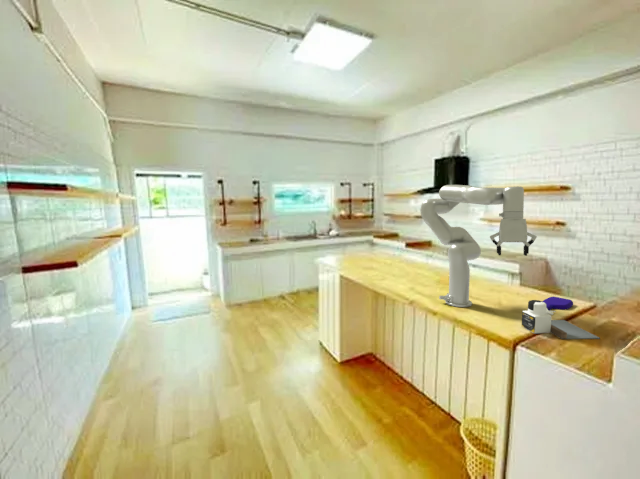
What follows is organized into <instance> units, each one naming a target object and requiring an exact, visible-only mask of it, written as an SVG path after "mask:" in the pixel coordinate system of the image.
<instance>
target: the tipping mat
mask: <svg viewBox="0 0 640 479" xmlns="http://www.w3.org/2000/svg"><path fill="white" fill-rule="evenodd" d="M550 334H552V335H554V336H556V337H557V338H558V339H561V340H600V339H601V338H600V337H599V336H597V335H596V334H593V333H591V332H589V331H587V330H585V329H583V328H581V327H579V326H577V325H575V324H573V323H571V322H570V321H567V320H565V319H551V332H550Z"/></svg>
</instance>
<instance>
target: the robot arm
mask: <svg viewBox="0 0 640 479" xmlns="http://www.w3.org/2000/svg"><path fill="white" fill-rule="evenodd" d="M438 195H439V198H428V199H426V200H424V201H423V202H422V203H421V205H420V215H421V216H420V217H421V219H422V220H423V222H425V224H426V225H427V226H428V227H429V229H431V231H432V232H433V233H434V235H435V236H436V238H437V239H438V241H439V242H441V243H442V244H443V245H444V246H449V248H448V250H447V259H448V263H449V270H448V271H449V273H448V274H449V276H448V279H449V280H448V293H446V294H445V295H439V297H438V298H439V300H443V301H445V303H446V304H447V305H449V306H452V307H455V308H456V307H457V308H468V307H472V305H473V302H472V300H470V277H471V275H470V274H471V273H470V272H471V271H470V270H471V269H470V266H469V264H468V261H472V260H476V259H478V258H479V257H480V256H481V255H482V254H481V253H482V250H481V246H480V245H479V244H478V242H477V241H476V240H475V238H474V237H472V235H471V233H469V231H468V230H466V229H465V228H464V227H461V226H451V225H450V224H449V223H448V222H447V221H446V220H445V218H443V217H442V216H441V214H442V215H443V214H447V213H450V211H452V210H454V209H455V207H457V206H458V205H459V204H460V203H463V204H471V205H483V206H492V205H495V206H496V205H497V206H499V205H502V212H500V213H499V214H498V217H500V218H501V219H500V223H499V228H498V229H499V230H498V231H497V232H496V233H494V234H491V235H490V236H489V238H490V240H491V243H493V244H494V245H495V246H496V254H497V255H498V256H502V246H501V245H502V244H503V243H523V244H524V245H523V255H524V257H525V256H526V257H527V256H528V254H529V253H530V250H529V249H530V246H531V245H533V243H534V242H535V240H536V239H537V238H538V237H537V235H536V234H533V233H531V232H528V226H527V219H526V218H524V207H525V205H524V201H525V200H524V199H525V189H524V187H523V186H520V185H519V186H508V187H479V186H477V187H476V186H471V185H467V184H466V185H465V184H464V185H463V184H446V185H443V186H442V187H441V188H440V189H439V191H438ZM497 237H498V241H497V240H496V238H497ZM528 237H530V239H529V240H528Z"/></svg>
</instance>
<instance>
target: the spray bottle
mask: <svg viewBox="0 0 640 479" xmlns="http://www.w3.org/2000/svg"><path fill="white" fill-rule="evenodd" d="M542 301H543V302H545V303H546V314H549V315H551V316H553V315H554V313H556V310H559V311H560V310H562V311H563V310H565V309H566V310H569V309H570V308H572V307H573V305H574V301H573V300H571V299H567V298H562V297H558V296H550V297H548V298H545V299H544V300H542ZM552 309H553V310H552Z"/></svg>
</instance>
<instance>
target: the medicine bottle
mask: <svg viewBox="0 0 640 479" xmlns="http://www.w3.org/2000/svg"><path fill="white" fill-rule="evenodd" d="M543 301H544V300H539V299H538V300H537V299H532V300H528V304H527V310H522V313H521V316H522V317H521V328H523V329H525V330H527V331H529V332H530V333H532V334H549V333H550V334H551V320H552V316H553V315H550V314H546V303H545V302H543Z"/></svg>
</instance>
